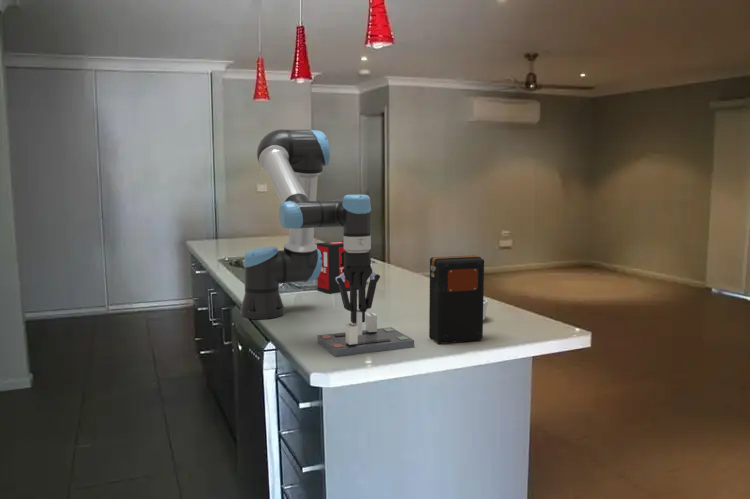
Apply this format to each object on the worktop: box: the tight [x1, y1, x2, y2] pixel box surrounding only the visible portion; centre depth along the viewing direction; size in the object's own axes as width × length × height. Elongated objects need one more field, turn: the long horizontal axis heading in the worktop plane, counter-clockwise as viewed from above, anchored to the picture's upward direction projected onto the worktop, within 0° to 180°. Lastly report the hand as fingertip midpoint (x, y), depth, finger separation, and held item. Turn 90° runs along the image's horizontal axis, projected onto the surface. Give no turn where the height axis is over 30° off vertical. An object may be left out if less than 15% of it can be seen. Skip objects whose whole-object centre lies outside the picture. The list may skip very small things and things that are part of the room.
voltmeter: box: [428, 254, 485, 344], centre depth 188 cm, size 16×9×25 cm, turn 107°
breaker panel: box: [316, 326, 415, 358], centre depth 185 cm, size 16×24×2 cm, turn 113°
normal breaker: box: [364, 312, 378, 332], centre depth 190 cm, size 3×2×5 cm
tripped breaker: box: [344, 322, 358, 345], centre depth 177 cm, size 3×2×5 cm
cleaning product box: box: [316, 240, 358, 295], centre depth 265 cm, size 16×9×20 cm, turn 129°
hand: (358, 333), depth 178 cm, fingers closed
